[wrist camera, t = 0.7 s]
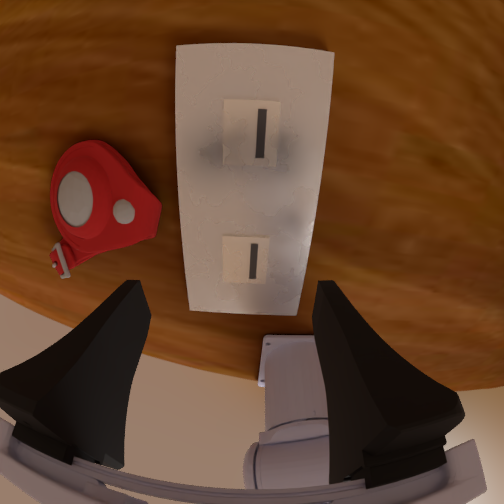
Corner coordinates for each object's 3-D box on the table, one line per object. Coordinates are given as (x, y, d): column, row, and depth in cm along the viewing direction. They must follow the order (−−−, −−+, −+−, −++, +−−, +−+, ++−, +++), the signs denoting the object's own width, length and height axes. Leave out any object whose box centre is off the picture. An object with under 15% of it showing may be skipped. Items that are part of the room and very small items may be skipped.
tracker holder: (45, 133, 15) (149, 154, 14) (83, 134, 19) (182, 155, 18) (36, 279, 19) (124, 331, 18) (68, 263, 23) (152, 305, 22)
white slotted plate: (295, 307, 25) (296, 317, 24) (192, 302, 24) (189, 312, 23) (330, 54, 14) (335, 52, 13) (180, 47, 14) (175, 45, 12)
